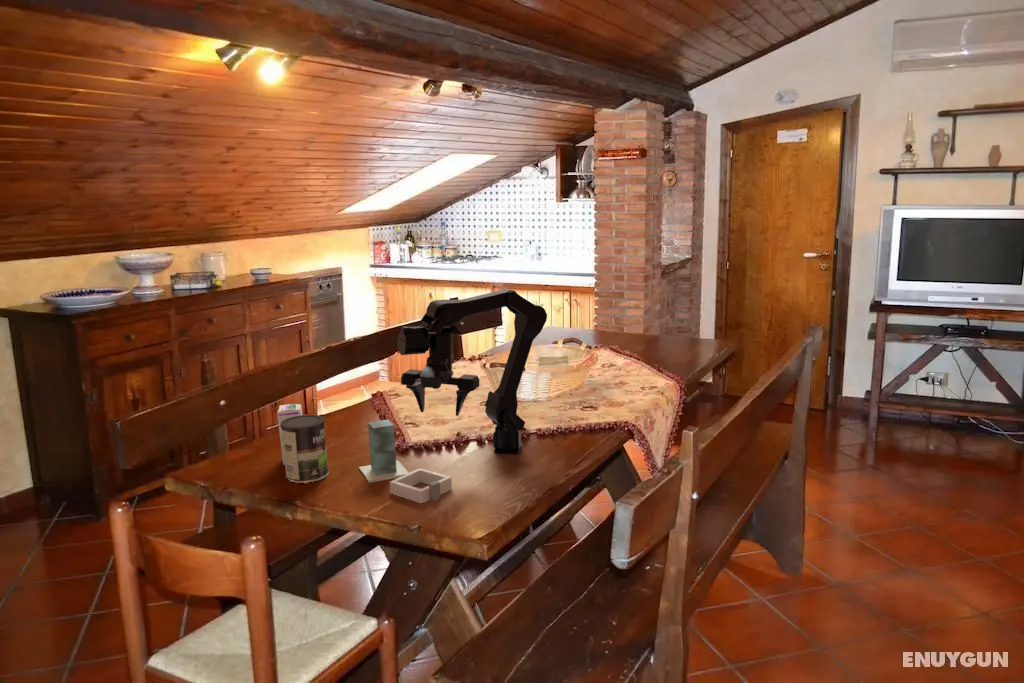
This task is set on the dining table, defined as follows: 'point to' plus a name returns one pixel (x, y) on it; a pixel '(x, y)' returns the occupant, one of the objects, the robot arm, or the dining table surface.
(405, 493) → the collar
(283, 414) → the syrup box
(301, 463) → the coffee can
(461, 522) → the dining table surface
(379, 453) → the post
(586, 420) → the dining table surface
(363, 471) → the mat
